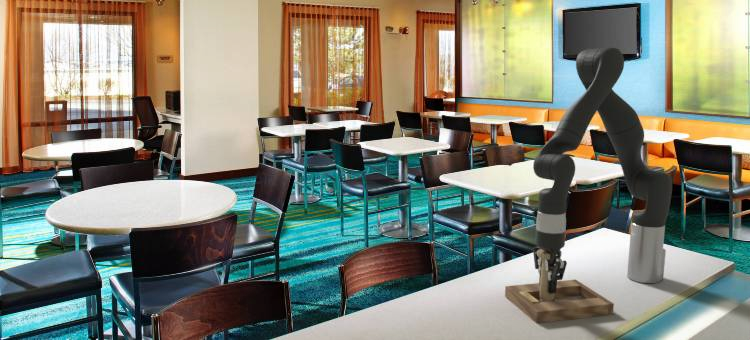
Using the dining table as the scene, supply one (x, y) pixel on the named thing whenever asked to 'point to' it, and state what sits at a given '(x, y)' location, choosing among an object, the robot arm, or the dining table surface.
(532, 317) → the square wooden frame
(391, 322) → the dining table surface
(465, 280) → the dining table surface
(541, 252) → the handle
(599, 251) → the dining table surface
